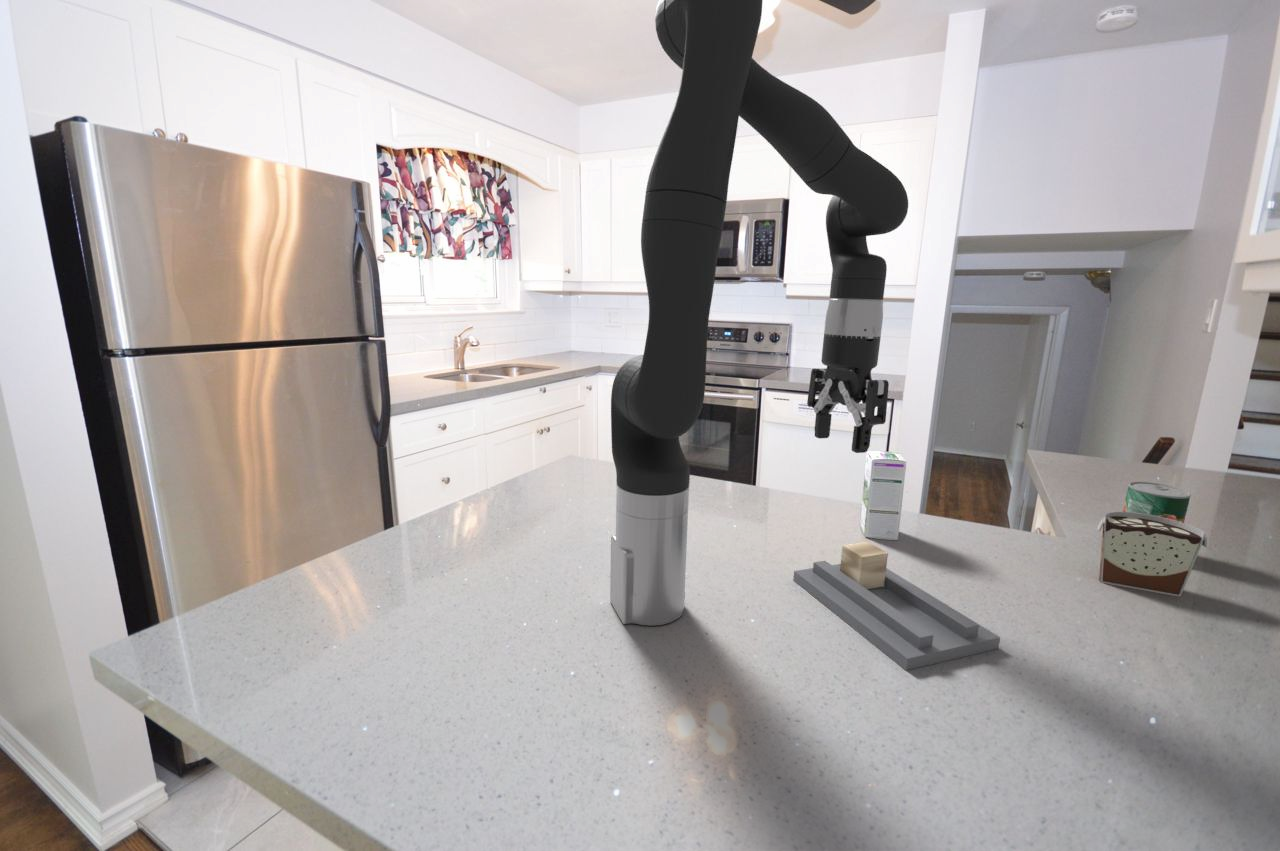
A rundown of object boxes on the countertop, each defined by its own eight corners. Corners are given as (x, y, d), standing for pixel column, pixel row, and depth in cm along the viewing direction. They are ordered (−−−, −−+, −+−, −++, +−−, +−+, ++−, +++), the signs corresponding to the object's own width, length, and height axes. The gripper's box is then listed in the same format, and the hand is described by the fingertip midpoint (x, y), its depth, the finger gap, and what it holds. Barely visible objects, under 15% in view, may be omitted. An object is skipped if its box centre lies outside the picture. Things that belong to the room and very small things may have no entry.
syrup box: (898, 541, 100) (909, 460, 96) (863, 537, 101) (872, 458, 98) (891, 528, 105) (901, 452, 102) (857, 525, 106) (866, 449, 103)
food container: (1176, 581, 87) (1191, 519, 85) (1194, 599, 82) (1210, 533, 80) (1077, 564, 92) (1089, 505, 90) (1088, 580, 87) (1101, 518, 85)
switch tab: (839, 577, 82) (842, 545, 81) (864, 573, 84) (867, 541, 82) (858, 590, 78) (861, 557, 77) (883, 586, 80) (888, 553, 79)
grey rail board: (793, 580, 85) (795, 561, 84) (870, 567, 89) (872, 550, 89) (905, 670, 64) (909, 646, 64) (998, 648, 69) (1002, 626, 68)
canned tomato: (1172, 564, 93) (1187, 500, 91) (1111, 548, 99) (1124, 487, 96) (1179, 551, 98) (1194, 490, 96) (1120, 536, 104) (1133, 478, 101)
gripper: (799, 329, 86) (790, 434, 89) (865, 335, 73) (850, 459, 76) (841, 330, 88) (830, 432, 92) (912, 336, 75) (896, 456, 79)
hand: (839, 444), depth 84 cm, fingers open, 8 cm apart
